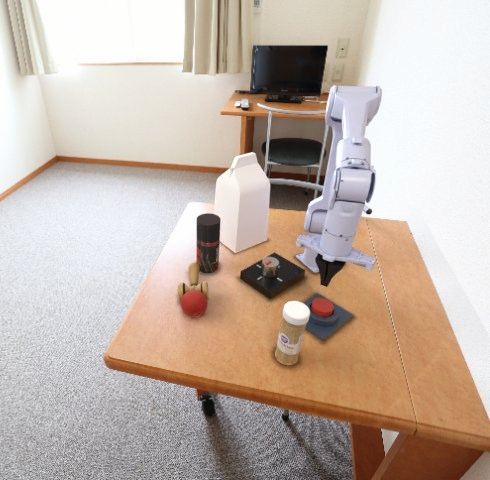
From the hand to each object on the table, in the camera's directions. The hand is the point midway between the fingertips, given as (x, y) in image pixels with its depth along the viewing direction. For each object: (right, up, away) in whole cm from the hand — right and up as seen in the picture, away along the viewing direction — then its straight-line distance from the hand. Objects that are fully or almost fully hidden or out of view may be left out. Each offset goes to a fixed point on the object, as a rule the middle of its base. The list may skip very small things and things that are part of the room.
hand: (325, 283), depth 74 cm
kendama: (-27, -4, +12) cm, 30 cm away
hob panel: (-7, -1, +16) cm, 18 cm away
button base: (+1, -8, +5) cm, 9 cm away
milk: (-12, +10, +32) cm, 36 cm away
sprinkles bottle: (-9, -14, -4) cm, 18 cm away
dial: (-8, +1, +14) cm, 16 cm away
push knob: (+1, -6, +3) cm, 7 cm away
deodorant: (-23, +2, +21) cm, 31 cm away
